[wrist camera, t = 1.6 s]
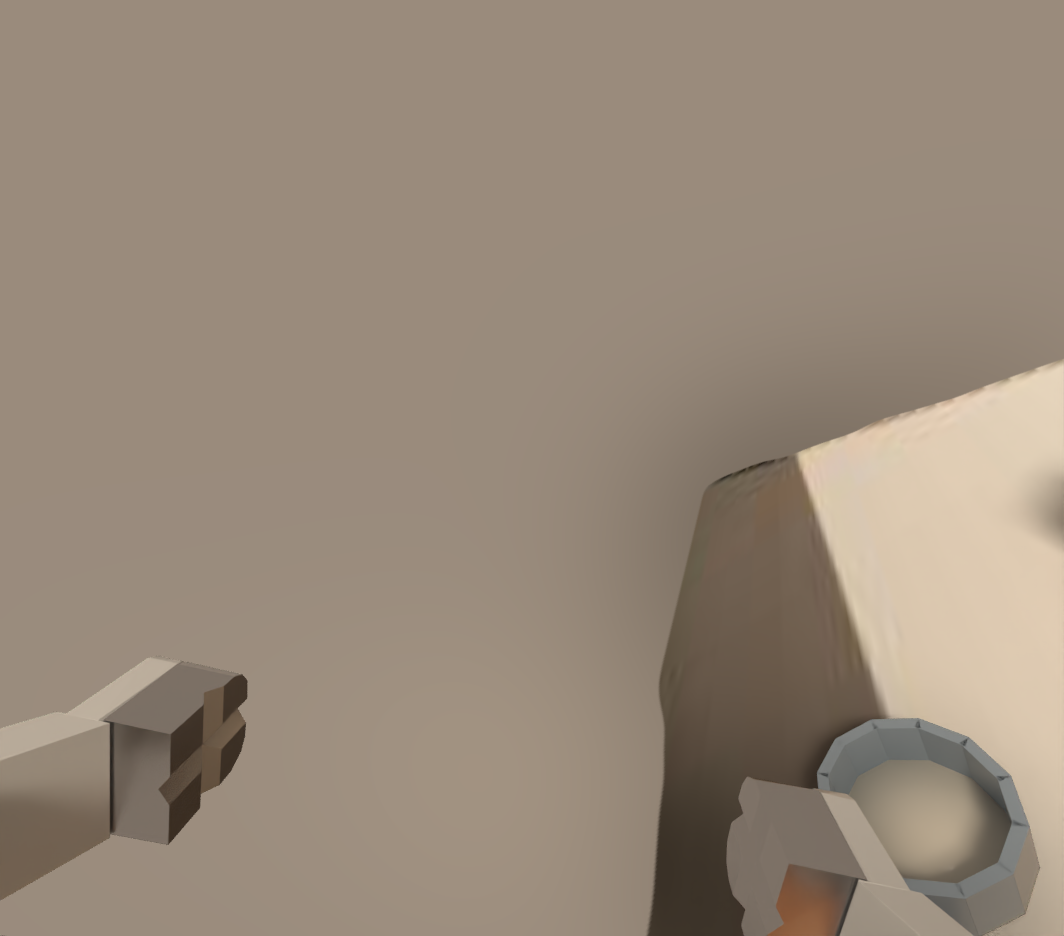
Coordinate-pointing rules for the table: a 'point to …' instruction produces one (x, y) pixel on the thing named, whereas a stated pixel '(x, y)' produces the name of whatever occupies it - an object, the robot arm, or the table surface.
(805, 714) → the table surface
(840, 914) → the robot arm
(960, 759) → the bowl
